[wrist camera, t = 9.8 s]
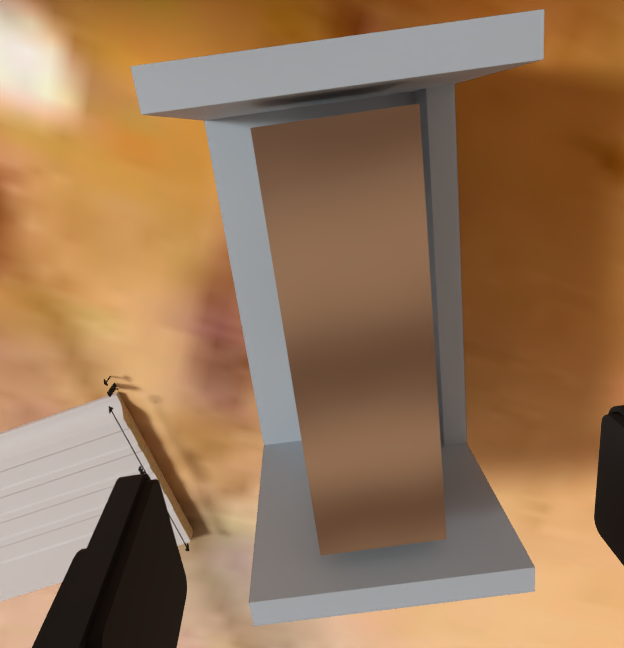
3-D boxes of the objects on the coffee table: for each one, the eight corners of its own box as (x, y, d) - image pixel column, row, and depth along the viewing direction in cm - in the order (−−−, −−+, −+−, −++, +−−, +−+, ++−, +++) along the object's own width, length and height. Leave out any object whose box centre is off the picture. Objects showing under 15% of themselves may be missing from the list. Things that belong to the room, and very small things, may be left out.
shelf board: (261, 128, 22) (250, 127, 16) (386, 110, 21) (419, 103, 16) (315, 466, 27) (320, 555, 21) (414, 453, 27) (446, 539, 21)
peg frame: (202, 94, 26) (130, 66, 14) (433, 62, 25) (544, 8, 14) (267, 453, 32) (253, 626, 21) (450, 429, 32) (534, 591, 21)
